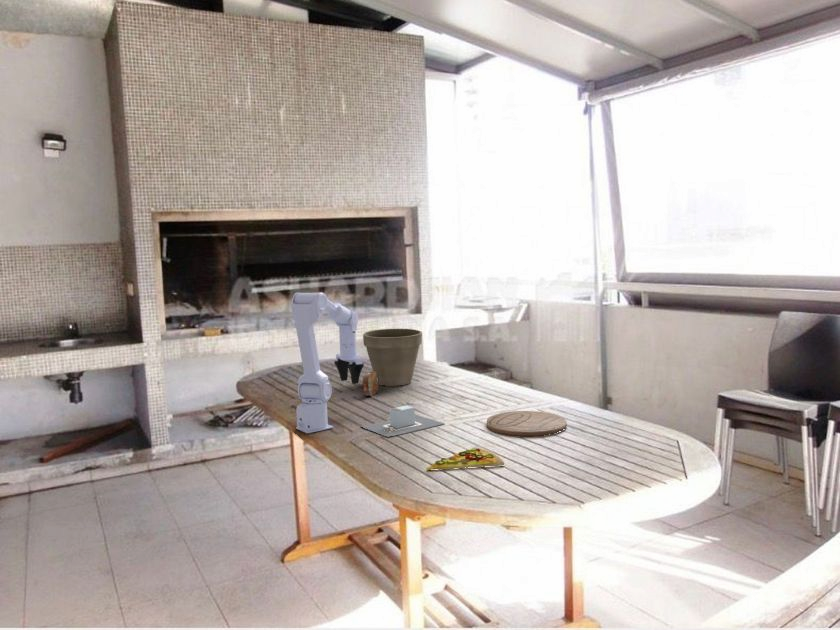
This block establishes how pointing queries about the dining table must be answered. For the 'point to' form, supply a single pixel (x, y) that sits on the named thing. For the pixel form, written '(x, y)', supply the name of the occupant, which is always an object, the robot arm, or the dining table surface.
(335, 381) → the dining table surface
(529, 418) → the trivet
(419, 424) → the mat
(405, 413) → the card box
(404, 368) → the plant pot
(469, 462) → the pizza slice
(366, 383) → the bread slice
